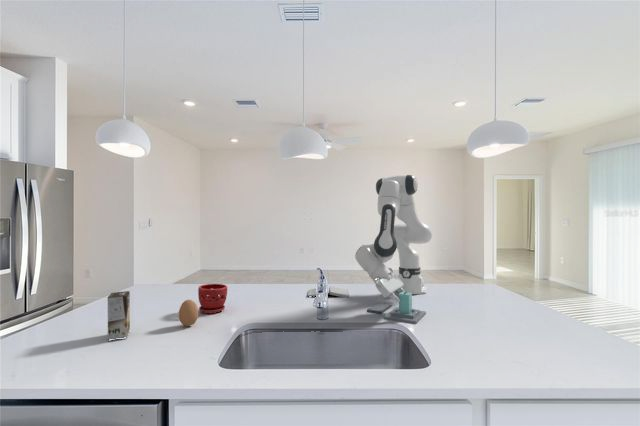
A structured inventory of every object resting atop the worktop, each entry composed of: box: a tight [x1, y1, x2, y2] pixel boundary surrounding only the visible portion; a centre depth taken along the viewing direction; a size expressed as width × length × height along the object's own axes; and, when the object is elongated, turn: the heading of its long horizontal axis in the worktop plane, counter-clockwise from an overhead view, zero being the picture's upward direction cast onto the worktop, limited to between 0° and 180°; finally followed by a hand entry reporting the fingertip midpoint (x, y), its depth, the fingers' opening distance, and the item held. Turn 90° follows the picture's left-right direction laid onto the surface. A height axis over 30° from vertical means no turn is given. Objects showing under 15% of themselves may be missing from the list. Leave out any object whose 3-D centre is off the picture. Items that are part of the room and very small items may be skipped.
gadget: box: [307, 285, 350, 298], centre depth 195 cm, size 23×15×4 cm, turn 89°
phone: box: [366, 302, 393, 315], centre depth 165 cm, size 7×14×1 cm, turn 149°
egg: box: [178, 299, 199, 327], centre depth 142 cm, size 8×8×11 cm
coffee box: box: [107, 290, 131, 340], centre depth 130 cm, size 9×6×16 cm
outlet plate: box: [383, 306, 427, 325], centre depth 153 cm, size 16×14×2 cm
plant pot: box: [197, 283, 228, 314], centre depth 163 cm, size 13×13×12 cm
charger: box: [398, 292, 413, 314], centre depth 153 cm, size 4×4×9 cm
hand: (402, 299), depth 154 cm, fingers open, 8 cm apart
